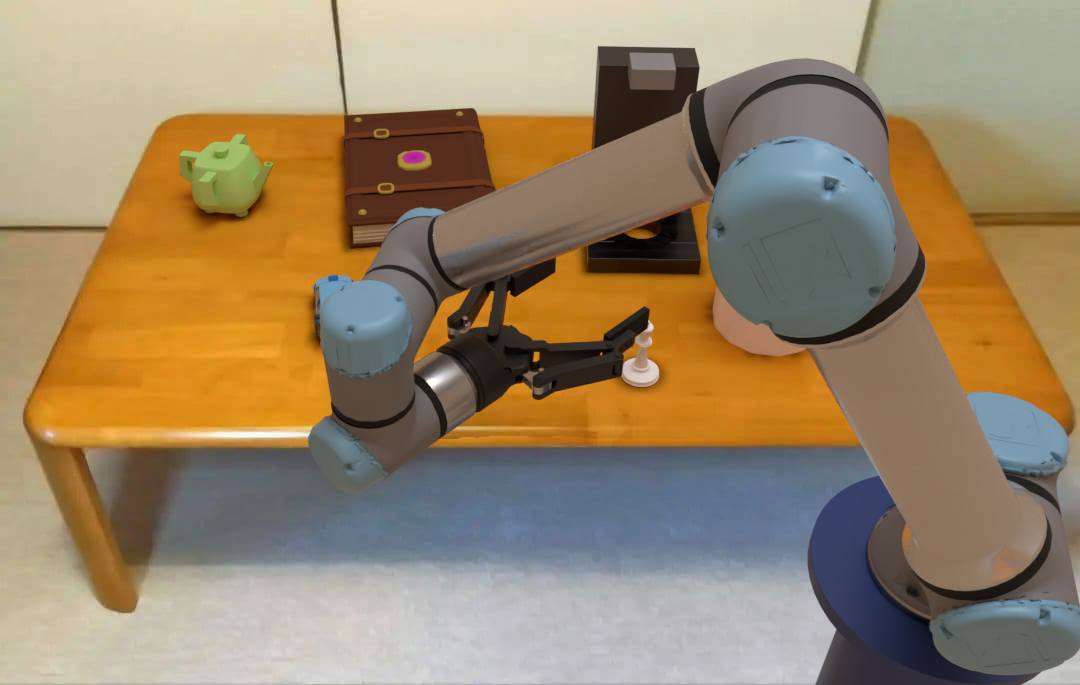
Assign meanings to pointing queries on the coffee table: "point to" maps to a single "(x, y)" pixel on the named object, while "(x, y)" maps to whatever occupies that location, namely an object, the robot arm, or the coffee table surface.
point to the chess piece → (641, 363)
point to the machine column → (640, 88)
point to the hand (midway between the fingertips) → (598, 288)
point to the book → (410, 167)
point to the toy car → (326, 294)
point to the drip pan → (650, 249)
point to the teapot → (225, 176)
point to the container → (747, 331)
